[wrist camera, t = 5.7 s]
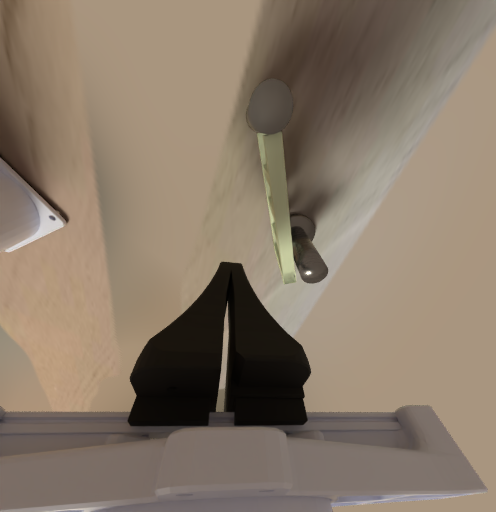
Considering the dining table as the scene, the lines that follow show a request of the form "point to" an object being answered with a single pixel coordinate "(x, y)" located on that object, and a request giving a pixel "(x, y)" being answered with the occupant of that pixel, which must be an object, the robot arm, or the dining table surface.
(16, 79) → the dining table surface
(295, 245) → the post
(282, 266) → the gate
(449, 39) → the dining table surface
